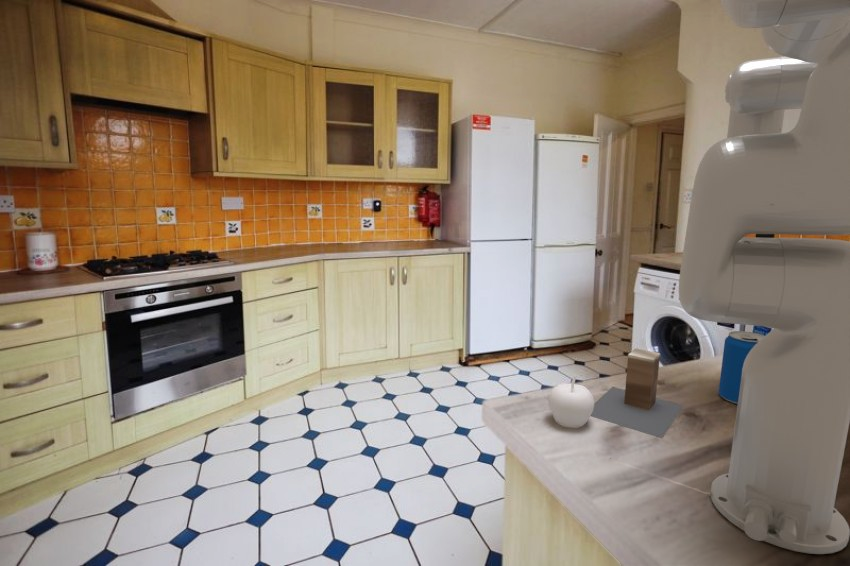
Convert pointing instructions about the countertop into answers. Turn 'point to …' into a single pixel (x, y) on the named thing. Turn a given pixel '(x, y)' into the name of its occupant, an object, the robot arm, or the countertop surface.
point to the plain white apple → (571, 404)
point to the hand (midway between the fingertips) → (739, 249)
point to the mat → (636, 413)
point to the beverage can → (735, 362)
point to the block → (642, 378)
